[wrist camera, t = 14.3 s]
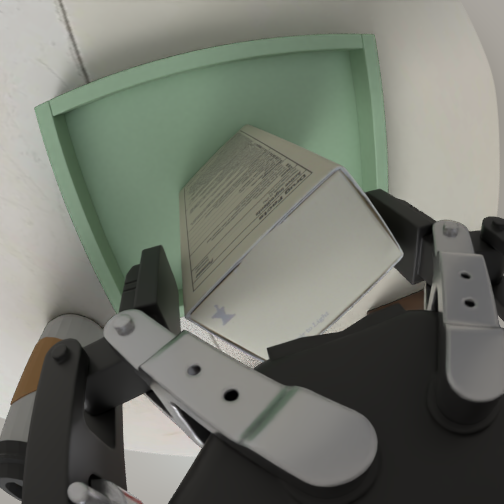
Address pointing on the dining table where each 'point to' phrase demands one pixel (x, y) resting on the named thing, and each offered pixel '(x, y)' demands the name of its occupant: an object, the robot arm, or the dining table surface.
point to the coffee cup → (19, 417)
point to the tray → (204, 134)
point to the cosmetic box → (276, 243)
